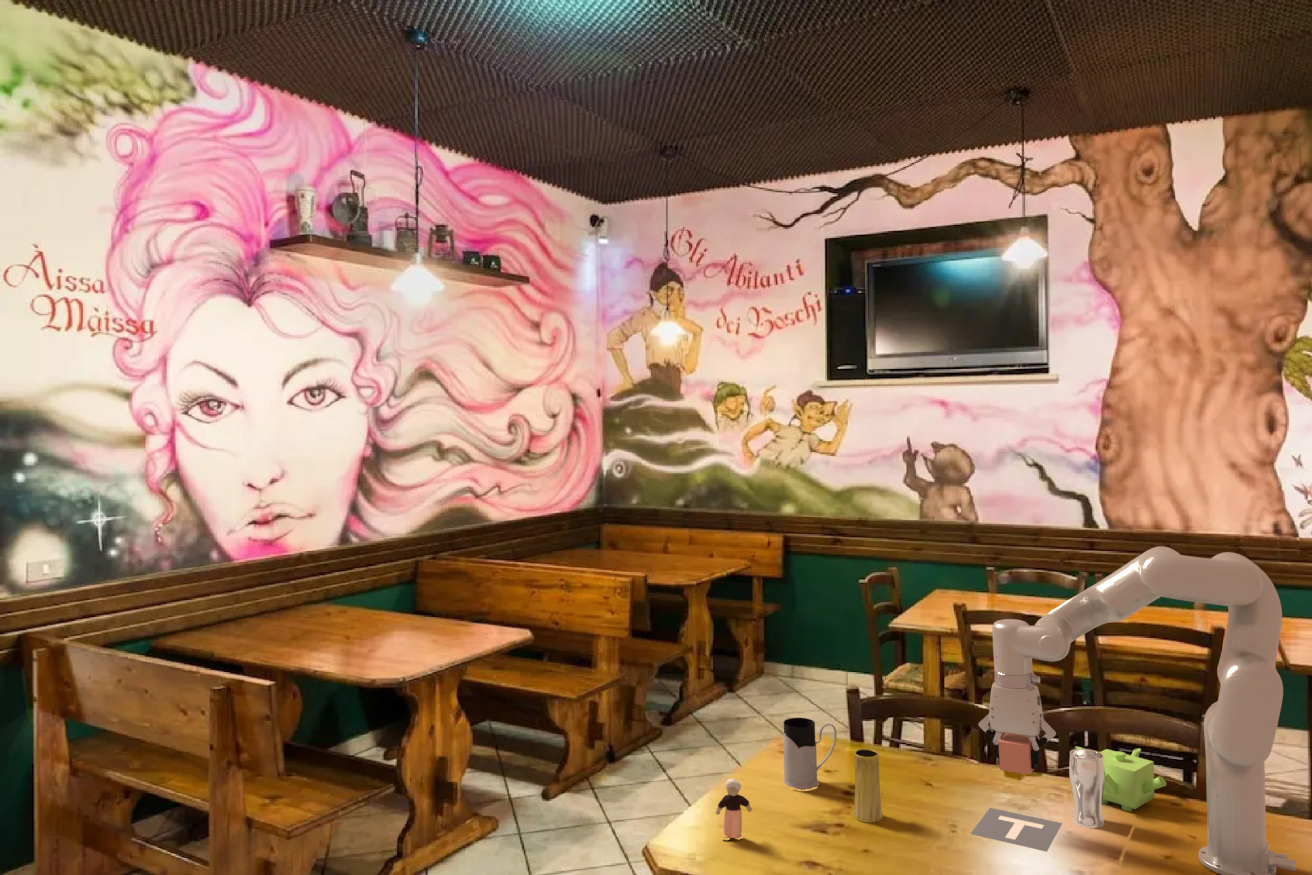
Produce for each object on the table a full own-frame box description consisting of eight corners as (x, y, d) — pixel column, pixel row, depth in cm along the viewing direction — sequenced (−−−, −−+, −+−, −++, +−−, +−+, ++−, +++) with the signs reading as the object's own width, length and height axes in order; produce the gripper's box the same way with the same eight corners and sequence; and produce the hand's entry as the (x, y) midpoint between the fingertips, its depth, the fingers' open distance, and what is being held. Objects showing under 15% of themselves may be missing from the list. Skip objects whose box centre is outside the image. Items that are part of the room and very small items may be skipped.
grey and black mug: (776, 780, 222) (774, 719, 222) (828, 771, 227) (826, 712, 226) (792, 793, 214) (790, 730, 214) (846, 784, 218) (844, 722, 218)
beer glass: (1110, 831, 190) (1108, 760, 190) (1074, 829, 191) (1073, 759, 191) (1101, 817, 197) (1099, 748, 196) (1066, 815, 198) (1065, 747, 198)
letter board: (1062, 824, 194) (1062, 822, 194) (1046, 853, 181) (1046, 851, 181) (989, 809, 202) (989, 807, 202) (970, 835, 190) (970, 833, 190)
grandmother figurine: (720, 844, 189) (719, 784, 189) (714, 836, 193) (713, 777, 193) (755, 839, 191) (753, 779, 191) (748, 831, 195) (746, 772, 195)
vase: (850, 820, 199) (849, 755, 199) (858, 809, 204) (856, 746, 204) (878, 825, 196) (876, 759, 196) (885, 813, 202) (883, 750, 201)
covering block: (1036, 765, 192) (1035, 736, 192) (1030, 774, 187) (1028, 745, 187) (1007, 760, 195) (1005, 732, 195) (999, 769, 191) (998, 741, 191)
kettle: (1075, 788, 212) (1074, 740, 212) (1138, 788, 211) (1137, 741, 211) (1100, 815, 197) (1099, 764, 197) (1168, 816, 196) (1167, 765, 196)
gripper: (1061, 679, 189) (1065, 765, 189) (977, 670, 199) (981, 752, 199) (1053, 688, 183) (1058, 777, 183) (967, 679, 193) (971, 763, 193)
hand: (1018, 763), depth 191 cm, fingers closed on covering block, 6 cm apart
